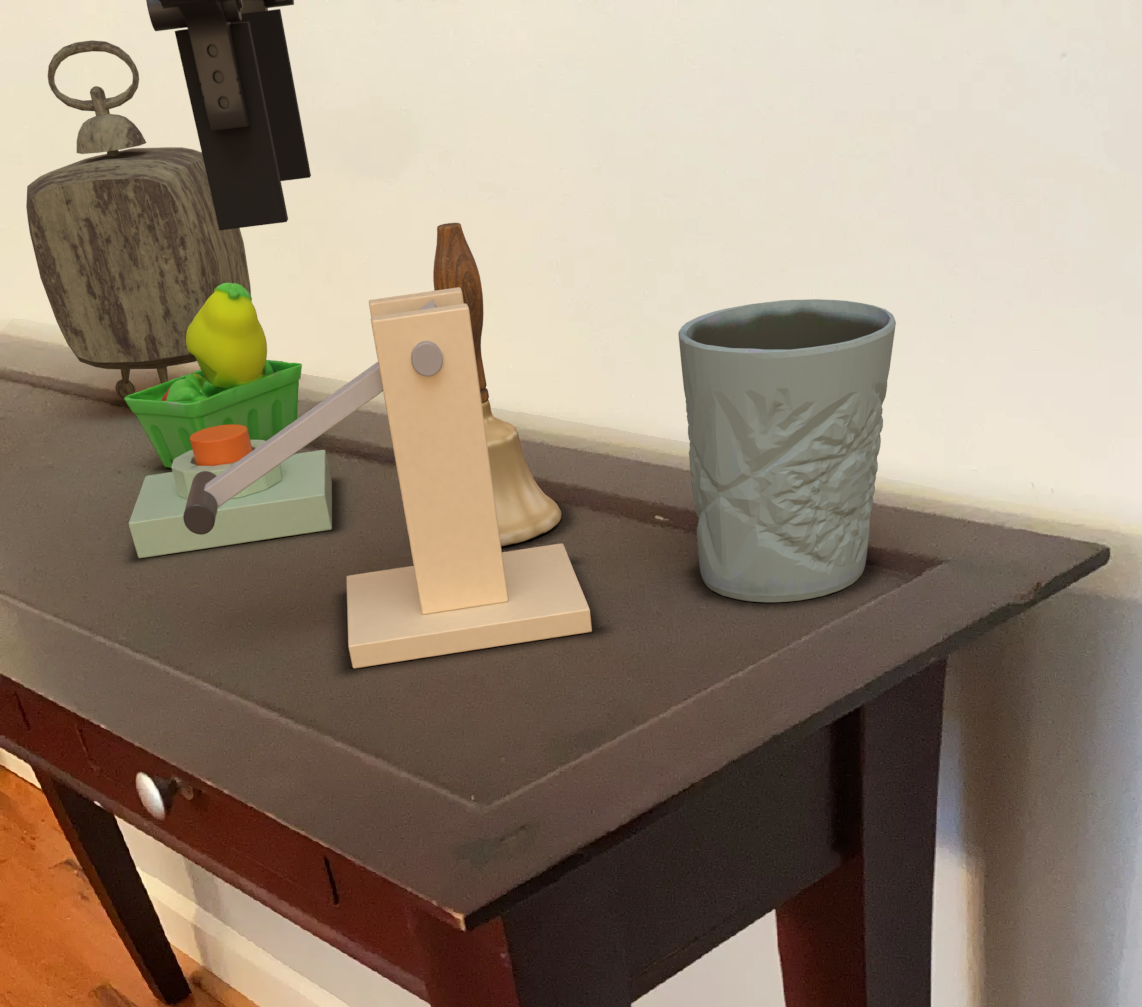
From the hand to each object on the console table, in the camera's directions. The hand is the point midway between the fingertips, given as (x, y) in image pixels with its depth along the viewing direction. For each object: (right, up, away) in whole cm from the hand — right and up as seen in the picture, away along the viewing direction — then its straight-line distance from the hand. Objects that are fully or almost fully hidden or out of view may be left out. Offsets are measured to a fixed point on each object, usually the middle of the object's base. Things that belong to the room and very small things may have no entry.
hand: (269, 201), depth 61 cm
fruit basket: (-11, +5, +41) cm, 43 cm away
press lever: (+2, -8, +6) cm, 10 cm away
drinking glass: (+25, -13, +12) cm, 30 cm away
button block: (-8, -4, +29) cm, 30 cm away
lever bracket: (+8, -15, +12) cm, 20 cm away
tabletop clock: (-20, +15, +55) cm, 61 cm away
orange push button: (-9, -1, +26) cm, 28 cm away
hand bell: (+9, -6, +23) cm, 25 cm away
